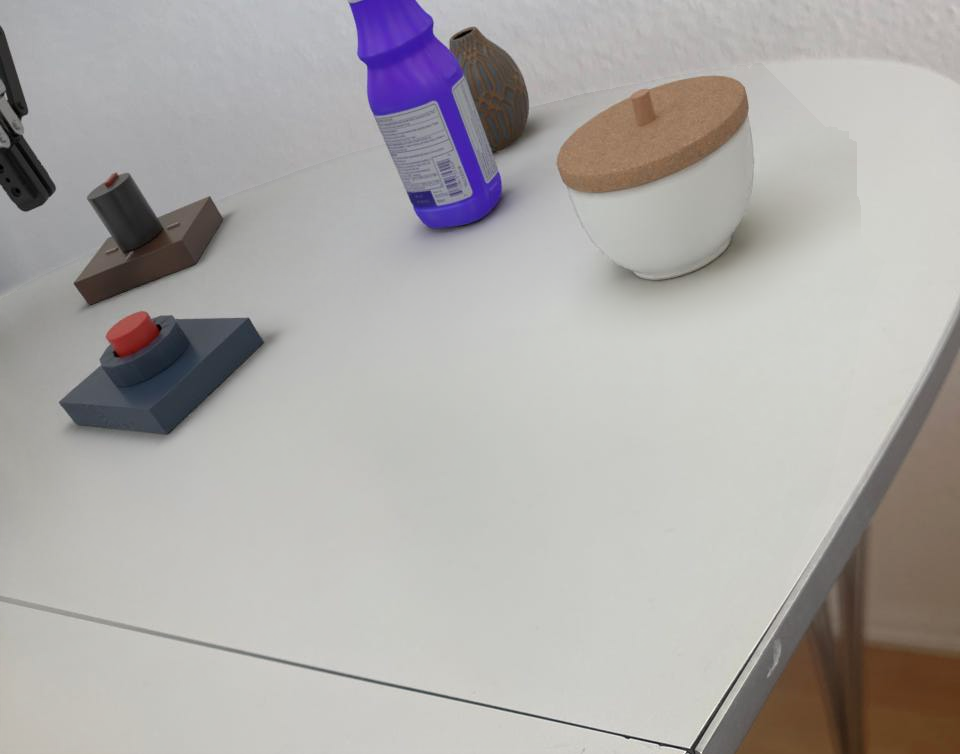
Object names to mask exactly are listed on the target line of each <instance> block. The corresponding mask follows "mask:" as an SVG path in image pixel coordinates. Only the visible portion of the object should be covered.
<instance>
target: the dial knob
mask: <svg viewBox="0 0 960 754" xmlns="http://www.w3.org/2000/svg"><path fill="white" fill-rule="evenodd" d="M86 200H87V201H88V203H89V205H90V206H91V208H92V209H93V210H94V212H95V214H96V215H97V217H98V218H99V219H100V221H101V223H102V224H103V225H104V227H105V228H106V230H107V231H108V233H109V235H110V237H113V239H114V240H115V242H116V243H117V245H118V246H119V248H120V249H121V251H123V252H126V251H131V250H133V249H136V248H138V247H140V246H142V245H144V244H146V243H147V242H149V241H150V240H152V239H153V238H154V237H156V236H157V235H158V234H159V233H160V232H161V230H162V228H163V226H162V224H161V223H160V221H159V220H158V216H157V214H156V213H155V212H154V210H153V208H152V206H151V205H150V203H149V202H148V200H147V198H146V197H145V195H144V194H143V192H142V191H141V189H140V187H139V186H138V184H137V182H136V181H135V179H134V178H133V176H132V174H131V173H130V172H124V173H120V174H118V172H116V171H115V172H114V173H112V174H111V175H109V177H108V178H107V180H105V181H104V182H103V183H101V184H99V185H97V186H96V187H95V188H93V190H91V191H90V192H89V194H88V195H87V196H86Z"/></svg>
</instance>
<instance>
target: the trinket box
mask: <svg viewBox="0 0 960 754" xmlns="http://www.w3.org/2000/svg"><path fill="white" fill-rule="evenodd" d="M749 105H750V104H749V99H748V95H747V91H746V86H744V85H743V84H742V82H740V81H739V80H737V79H735V78H733V77H730V76H725V75H702V76H695V77H689V78H684V79H678V80H675V81H671V82H667V83H663V84H661V85H657V86H654V87H652V88H641V89H639V90H637V91H635V92H633V93H632V94H631V95H630V96H629V97H627V98H625V99H622V100H621V101H619V102H617V103H615V104H614V105H612V106H610V107H608V108H606V109H605V110H603V111H601V112H600V113H597V114H596V115H595V116H594V117H592V118H591V119H589V120H588V121H586V122H585V123H584V124H581V126H579V127H578V128H577V129H576V130H575V131H574V132H573V133H572V134H571V135H570V136H569V137H568V138H567V139H566V140H565V141H564V142H563V144H562V146H561V147H560V149H559V151H558V153H557V156H556V167H557V170H558V173H559V176H560V178H561V181H562V183H563V184H564V185H565V187H566V190H567V193H568V197H569V200H570V201H571V205H572V207H573V210H574V213H575V215H576V217H577V219H578V221H579V223H580V225H581V227H582V229H583V231H584V232H585V234H586V236H587V237H588V238H589V240H590V242H591V243H592V244H593V245H594V246H595V248H596V249H598V251H599V252H600V253H601V254H602V255H603V256H604V257H606V258H607V259H608V260H609V261H611V262H613V263H614V264H616V265H618V266H620V267H621V268H624V269H627V270H629V271H632V273H633V274H634V275H635V276H637V277H638V278H641V279H643V280H650V281H659V280H667V279H674V278H677V277H681V276H684V275H688V274H690V273H692V272H694V271H697V270H699V269H701V268H703V267H705V266H707V265H709V264H710V263H712V262H713V261H714V260H716V259H717V258H718V257H719V256H721V255H722V254H723V253H724V252H725V251H726V250H727V248H728V247H729V246H730V244H731V242H732V237H733V236H732V235H733V234H734V232H735V231H736V229H737V228H738V226H739V225H740V223H741V221H742V219H743V218H744V216H745V213H746V211H747V209H748V206H749V203H750V200H751V196H752V192H753V191H752V190H753V187H754V178H755V154H754V153H755V152H754V141H753V134H752V127H751V122H750V118H749V109H750V106H749Z"/></svg>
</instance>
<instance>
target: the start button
mask: <svg viewBox="0 0 960 754" xmlns="http://www.w3.org/2000/svg"><path fill="white" fill-rule="evenodd" d="M152 319H153V318H152V317H151V316H150V314H149V312H147V311H145V310H141V311H137V312H133V313H131V314H129V315H127V316H126V317H123V318H122V319H120V320H119V321H117V322H116V323H115V324H114V325H112V326H111V327H110V329H108V331H107V332H106V334H105V339H106V340H107V342H108V343H109V345H111V346H112V347H113V349H114V350H115V351H116V353H117V354H118V356H119V357H125V356H128V355H131V354H133V353H135V352H137V351H139V350H140V349H142V348H144V347H145V346H147V345H148V344H149V343H151V342H152V341H153V340H154V339H155V338H156V337H157V336H158V335H159V333H160V330H159V329H158V328H157V326H156V325H155V323H154V322H153V320H152Z"/></svg>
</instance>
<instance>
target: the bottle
mask: <svg viewBox="0 0 960 754" xmlns="http://www.w3.org/2000/svg"><path fill="white" fill-rule="evenodd" d="M347 2H348V4H349V5H348V6H349V8H350V11H351V13H352V17H353V20H354V23H355V28H356V29H355V30H356V36H357V51H356V55H357V57H358V59H359V60H360V61H361V62H362V63H363V64H365V65H366V96H367V101H368V106H369V108H370V111H371V113H372V115H373V117H374V120H375V123H376V125H377V127H378V129H379V131H380V135H382V138H383V142H384V143H385V146H386V148H387V151H388V153H389V155H390V157H391V159H392V162H393V164H394V167H395V168H396V170H397V173H398V175H399V178H400V180H401V181H402V185H403V187H404V190H405V192H406V194H407V196H408V199H409V201H410V203H411V205H412V208H413V211H414V212H415V214H416V216H417V218H418V219H419V220H420V221H421V223H422V224H424V225H425V226H426V227H428V228H432V229H445V228H453V227H459V226H464V225H467V224H471V223H474V222H477V221H479V220H481V219H483V218H484V217H486V216H488V214H489V213H490V212H491V211H492V210H493V208H495V207H496V206H497V204H498V203H499V201H500V199H501V197H502V192H503V183H502V177H501V174H500V171H499V168H498V165H497V161H496V159H495V156H494V154H493V151H491V148H490V145H489V143H488V140H487V137H486V134H485V132H484V129H483V126H482V123H481V120H480V118H479V115H478V112H477V109H476V107H475V104H474V101H473V98H472V96H471V93H470V90H469V87H468V84H467V82H466V79H465V76H464V74H463V71H462V69H461V66H460V64H459V62H458V60H457V59H456V57H455V56H454V54H453V53H452V52H451V51H450V50H449V47H447V46H446V45H445V44H444V43H443V42H442V41H441V40H440V39H438V37H437V36H436V35H435V34H434V23H435V22H434V18H433V16H431V14H429V13H427V11H425V9H424V8H423V7H422V6H421V5H420V4H419V2H418V1H417V0H347Z"/></svg>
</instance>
